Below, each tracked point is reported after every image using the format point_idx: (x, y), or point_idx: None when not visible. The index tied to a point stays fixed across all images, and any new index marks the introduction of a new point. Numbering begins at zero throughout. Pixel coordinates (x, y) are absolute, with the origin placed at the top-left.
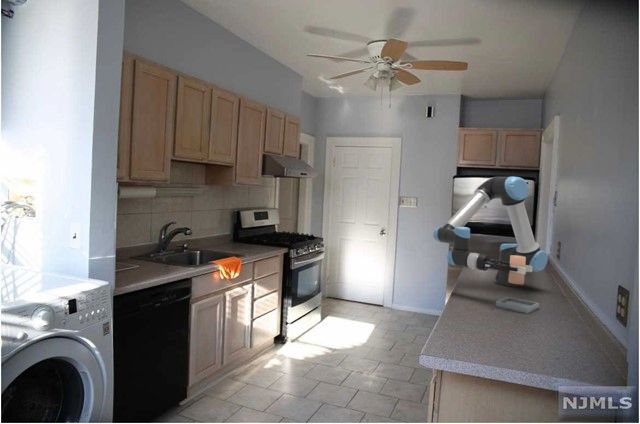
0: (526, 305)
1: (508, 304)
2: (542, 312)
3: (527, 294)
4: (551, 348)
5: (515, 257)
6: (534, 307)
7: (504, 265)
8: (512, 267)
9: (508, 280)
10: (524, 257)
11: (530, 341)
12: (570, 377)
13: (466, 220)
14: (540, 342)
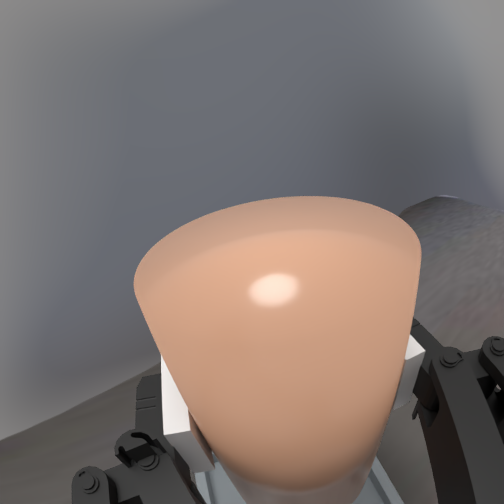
0: (231, 496)
1: (387, 478)
2: None
3: None
4: (459, 243)
5: (389, 218)
6: None
7: (501, 367)
8: (417, 337)
9: (354, 498)
10: (260, 201)
11: (482, 262)
12: (478, 205)
13: None
14: (465, 258)
